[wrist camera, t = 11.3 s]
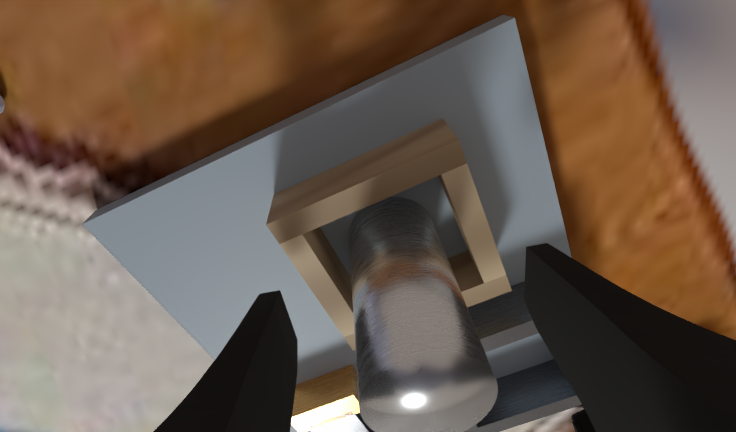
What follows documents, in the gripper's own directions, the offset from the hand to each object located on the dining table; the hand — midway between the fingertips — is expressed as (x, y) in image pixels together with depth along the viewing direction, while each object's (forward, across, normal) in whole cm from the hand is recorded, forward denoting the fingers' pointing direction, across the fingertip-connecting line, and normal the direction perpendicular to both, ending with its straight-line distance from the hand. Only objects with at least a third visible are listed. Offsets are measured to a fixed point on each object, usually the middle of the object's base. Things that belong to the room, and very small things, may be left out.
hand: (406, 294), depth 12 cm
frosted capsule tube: (+4, 0, 0) cm, 4 cm away
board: (+5, 0, +5) cm, 7 cm away
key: (+4, +3, +11) cm, 12 cm away
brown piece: (+4, 0, 0) cm, 4 cm away
